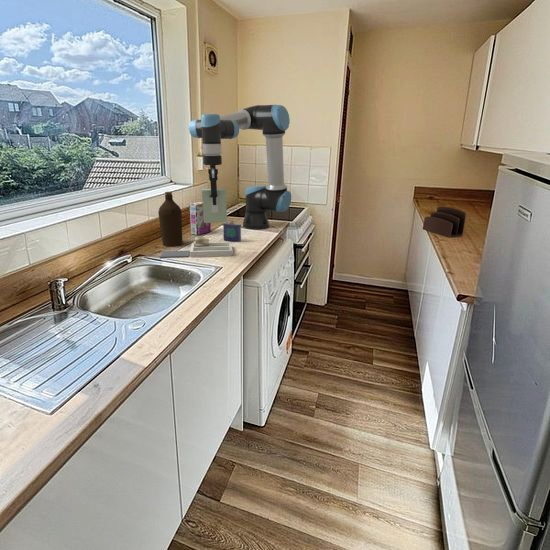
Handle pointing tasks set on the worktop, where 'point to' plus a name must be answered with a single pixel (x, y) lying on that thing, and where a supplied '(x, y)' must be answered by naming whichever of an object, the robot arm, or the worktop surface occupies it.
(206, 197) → the panel
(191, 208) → the candy bar box
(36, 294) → the worktop surface
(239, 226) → the flask
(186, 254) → the mat
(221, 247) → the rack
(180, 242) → the olive oil
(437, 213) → the letter holder
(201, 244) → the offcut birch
